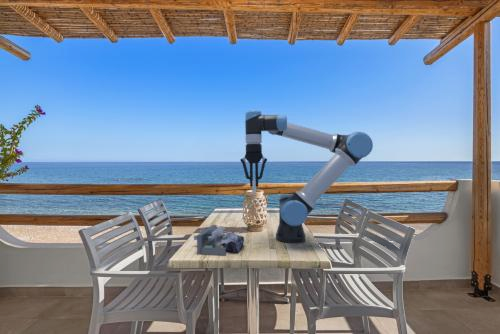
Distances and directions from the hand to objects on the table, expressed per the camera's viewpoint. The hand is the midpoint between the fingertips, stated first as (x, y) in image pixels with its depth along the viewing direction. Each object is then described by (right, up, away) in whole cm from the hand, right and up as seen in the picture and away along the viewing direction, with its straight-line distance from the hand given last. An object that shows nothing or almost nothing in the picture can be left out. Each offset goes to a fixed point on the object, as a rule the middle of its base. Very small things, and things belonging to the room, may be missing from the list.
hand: (254, 193), depth 138 cm
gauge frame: (-16, -25, -3) cm, 29 cm away
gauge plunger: (-22, -24, -2) cm, 33 cm away
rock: (-10, -25, -5) cm, 27 cm away
